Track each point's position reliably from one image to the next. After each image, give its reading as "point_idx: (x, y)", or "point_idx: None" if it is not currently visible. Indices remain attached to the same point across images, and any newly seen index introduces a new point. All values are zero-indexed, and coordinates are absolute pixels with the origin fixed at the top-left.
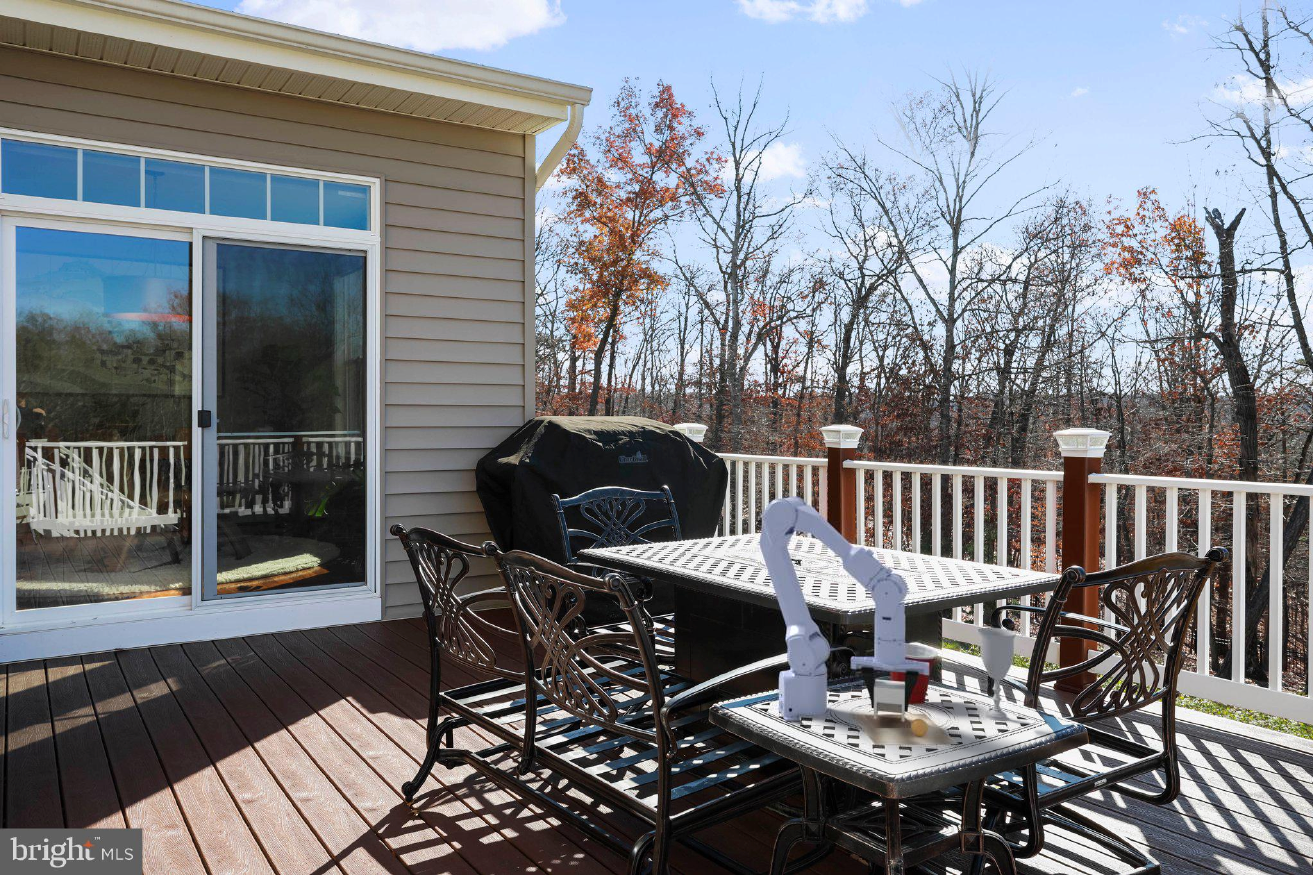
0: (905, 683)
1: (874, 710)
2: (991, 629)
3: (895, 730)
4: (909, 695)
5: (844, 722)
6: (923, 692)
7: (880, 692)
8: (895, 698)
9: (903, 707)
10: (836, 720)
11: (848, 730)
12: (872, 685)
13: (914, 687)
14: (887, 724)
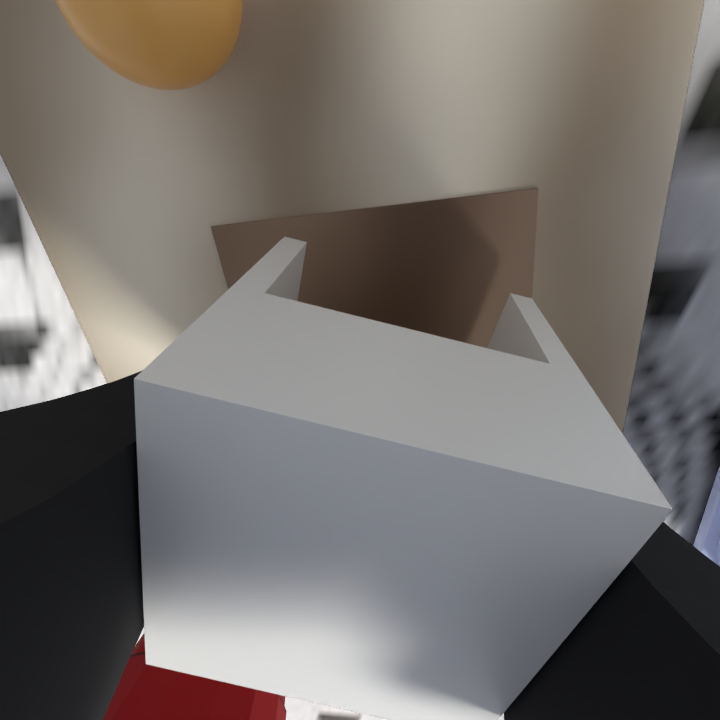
0: (47, 492)
1: (545, 327)
2: None
3: (381, 139)
4: (126, 385)
5: (652, 413)
6: (131, 656)
7: (536, 429)
8: (325, 338)
9: (255, 278)
10: (689, 444)
11: (706, 263)
12: (664, 570)
13: (160, 686)
14: (416, 277)
